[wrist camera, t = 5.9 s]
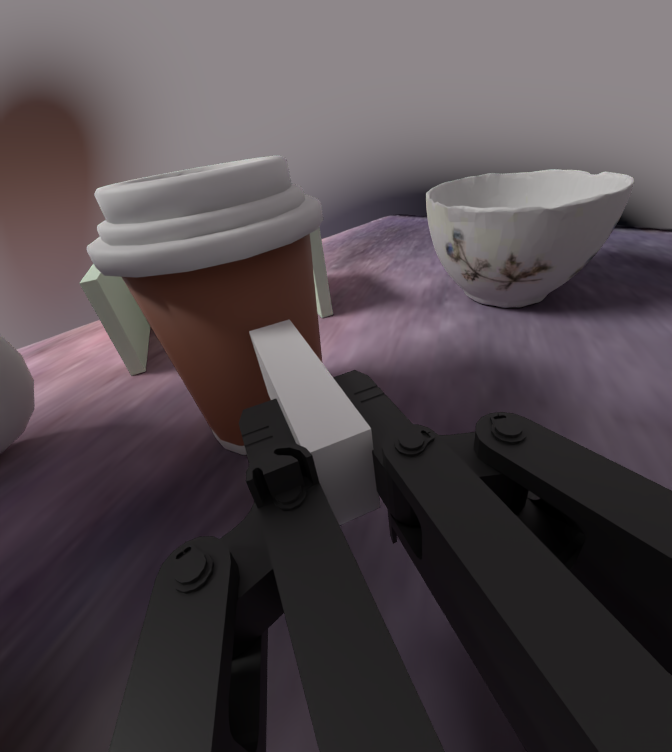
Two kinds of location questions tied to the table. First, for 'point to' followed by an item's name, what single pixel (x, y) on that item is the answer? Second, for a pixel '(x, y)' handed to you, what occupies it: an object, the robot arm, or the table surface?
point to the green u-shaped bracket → (133, 327)
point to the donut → (14, 394)
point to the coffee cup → (215, 272)
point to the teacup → (522, 230)
